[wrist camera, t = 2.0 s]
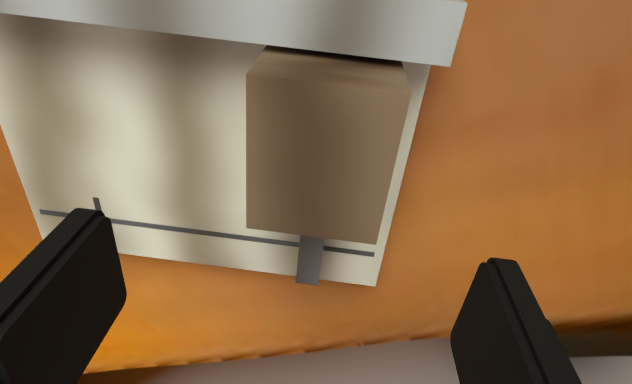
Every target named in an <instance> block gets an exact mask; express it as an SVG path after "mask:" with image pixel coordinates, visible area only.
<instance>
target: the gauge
mask: <svg viewBox="0 0 632 384" xmlns="http://www.w3.org/2000/svg"><path fill="white" fill-rule="evenodd" d="M410 98H411V91H410V88H409V84H408V81H407V78H406V74H405V71H404V68H403V64H402V61H397V60H389V59H380V58H372V57H364V56H355V55H347V54H339V53H330V52H322V51H314V50H305V49H297V48H289V47H280V46H272V45H266V47H265V48H264V49H263V51H262V52H261V54H260V55H259V56H258V58H257V59H256V61H255V62H254V63H253V65H252V66H251V68H250V69H249V70H248V72H247V73H246V228H249V229H257V230H264V231H272V232H280V233H288V234H296V235H300V242H299V252H298V263H297V274H296V283H303V284H311V285H318V283H319V276H320V269H321V262H322V254H323V247H324V240H325V238H327V239H334V240H342V241H350V242H358V243H366V244H373V245H376V243H377V239H378V235H379V230H380V226H381V222H382V218H383V213H384V209H385V205H386V200H387V196H388V192H389V188H390V183H391V179H392V175H393V171H394V166H395V162H396V158H397V154H398V149H399V145H400V141H401V136H402V132H403V128H404V124H405V119H406V115H407V111H408V107H409V102H410Z"/></svg>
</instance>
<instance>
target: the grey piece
mask: <svg viewBox="0 0 632 384" xmlns="http://www.w3.org/2000/svg"><path fill="white" fill-rule="evenodd" d="M467 4H468V3H467V2H465V1H464V0H0V125H1V128H2V130H3V133H4V136H5V139H6V141H7V144H8V147H9V149H10V152H11V155H12V158H13V160H14V163H15V166H16V168H17V171H18V174H19V177H20V179H21V182H22V185H23V187H24V190H25V193H26V196H27V198H28V201H29V204H30V206H31V209H32V212H33V215H34V217H35V220H36V223H37V225H38V228H39V231H40V234H41V236H42V239H44V238H45V237H46V236H47V235H48V234H49V233H50V232H51V231H52V230H53V229H54V228H55V227H56V226H57V225H58V224H59V223H60V222H61V221H62V220H63V219H64V218H65V217H66V216H67V215H68V214H69V213H70V212H71V211H72V210H74V209H75V208H86V209H94V210H100V211H102V212H103V213H104V214H105V217H109V218H110V220H111V223H112V228H113V232H114V237H115V241H116V246H117V251H118V253H121V254H129V255H137V256H145V257H152V258H160V259H168V260H175V261H183V262H191V263H198V264H206V265H214V266H221V267H229V268H237V269H244V270H252V271H260V272H267V273H275V274H283V275H290V276H296V274H297V263H298V252H299V242H300V235H296V234H288V233H280V232H272V231H264V230H257V229H249V228H246V73H247V72H248V70H249V69H250V68H251V66H252V65H253V63H254V62H255V61H256V59H257V58H258V56H259V55H260V54H261V52H262V51H263V49H264V48H265V47H266V45H272V46H280V47H289V48H297V49H305V50H314V51H322V52H330V53H339V54H347V55H355V56H364V57H372V58H380V59H389V60H397V61H402V64H403V68H404V71H405V74H406V78H407V81H408V84H409V88H410V91H411V98H410V102H409V107H408V111H407V115H406V119H405V124H404V128H403V132H402V136H401V141H400V145H399V149H398V154H397V158H396V162H395V166H394V171H393V175H392V179H391V183H390V188H389V192H388V196H387V200H386V205H385V209H384V213H383V218H382V222H381V226H380V230H379V235H378V239H377V243H376V245H373V244H366V243H358V242H350V241H342V240H334V239H327V238H325V240H324V247H323V254H322V262H321V269H320V276H319V279H321V280H329V281H336V282H344V283H352V284H360V285H367V286H376V282H377V278H378V274H379V270H380V266H381V262H382V258H383V254H384V250H385V246H386V242H387V238H388V234H389V230H390V226H391V222H392V218H393V214H394V210H395V206H396V202H397V198H398V194H399V190H400V186H401V182H402V178H403V174H404V170H405V166H406V162H407V158H408V154H409V150H410V146H411V142H412V139H413V135H414V131H415V127H416V123H417V119H418V115H419V111H420V107H421V103H422V99H423V95H424V91H425V87H426V83H427V79H428V75H429V71H430V67H431V65H439V66H447V67H450V65H451V62H452V58H453V54H454V51H455V47H456V44H457V40H458V37H459V33H460V29H461V26H462V22H463V19H464V15H465V11H466V8H467Z"/></svg>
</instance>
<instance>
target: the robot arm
mask: <svg viewBox="0 0 632 384" xmlns="http://www.w3.org/2000/svg"><path fill="white" fill-rule="evenodd" d="M126 295H127V293H126V287H125V283H124V278H123V273H122V269H121V264H120V260H119V255H118V251H117V246H116V241H115V237H114V232H113V228H112V223H111V220H110V218H109V217H105V214H104V213H103V212H102V211H100V210H94V209H86V208H75V209H74V210H72V211H71V212H70V213H69V214H68V215H67V216H66V217H65V218H64V219H63V220H62V221H61V222H60V223H59V224H58V225H57V226H56V227H55V228H54V229H53V230H52V231H51V232H50V233H49V234H48V235H47V236H46V237H45V238H44V239H43V240H42V241H41V242H40V243H39V245H38V246H37V247H36V248H35V249H34V250H33V251H32V252H31V253H30V254H29V255H28V256H27V257H26V258H25V259H24V260H23V261H22V262H21V263H20V264H19V265H18V266H17V267H16V268H15V269H14V270H13V271H12V272H11V273H10V274H9V275H8V276H7V277H6V278H5V279H4V280H3V281H2V282H1V283H0V384H76V383H77V382H78V380H79V379H80V377H81V375H82V374H83V372H84V370H85V369H86V367H87V365H88V364H89V362H90V360H91V359H92V357H93V355H94V354H95V352H96V350H97V349H98V347H99V346H100V344H101V342H102V341H103V339H104V337H105V336H106V334H107V332H108V331H109V329H110V327H111V326H112V324H113V322H114V321H115V319H116V317H117V316H118V314H119V312H120V311H121V309H122V308H123V306H124V304H125V301H126ZM450 340H451V348H452V352H453V357H454V361H455V364H456V369H457V373H458V377H459V381H460V384H582V383H581V381H580V379H579V377H578V375H577V373H576V371H575V369H574V368H573V366H572V363H571V361H570V360H569V358H568V356H567V354H566V352H565V350H564V348H563V346H562V344H561V342H560V340H559V338H558V336H557V334H556V332H555V330H554V328H553V326H552V325H551V323H550V322H549V321H548V320H547V319H546V318H545V317H544V315H543V313H542V311H541V309H540V307H539V305H538V303H537V301H536V299H535V297H534V295H533V293H532V291H531V289H530V287H529V285H528V283H527V281H526V279H525V277H524V275H523V273H522V271H521V269H520V267H519V265H518V263H517V262H516V261H514V260H508V259H500V258H490V259H488V261H487V263H484V262H483V263H481V264H480V265H479V268H478V270H477V272H476V275H475V277H474V279H473V282H472V284H471V287H470V289H469V291H468V294H467V296H466V298H465V301H464V303H463V306H462V308H461V310H460V313H459V315H458V318H457V320H456V322H455V325H454V327H453V329H452V332H451V339H450Z"/></svg>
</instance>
